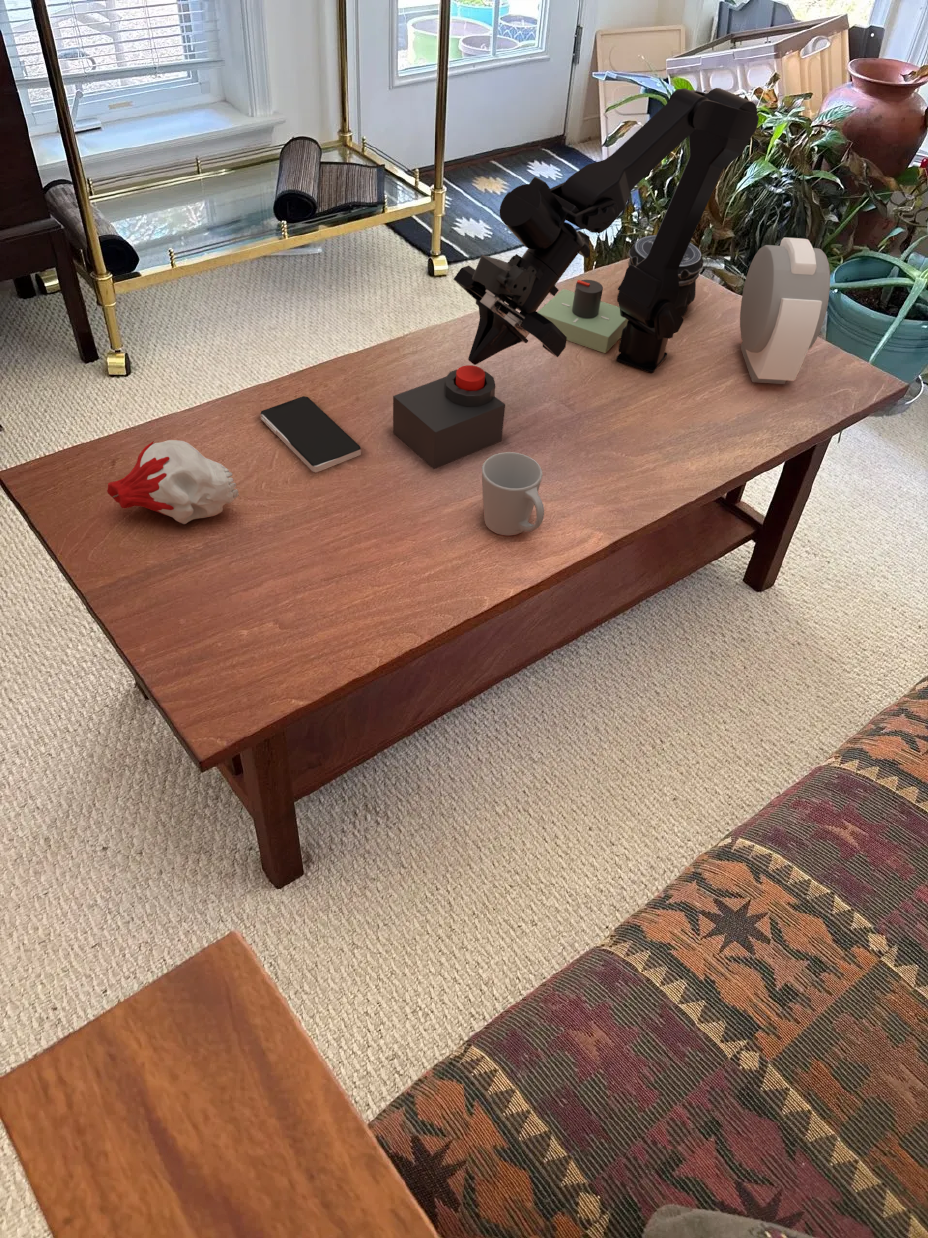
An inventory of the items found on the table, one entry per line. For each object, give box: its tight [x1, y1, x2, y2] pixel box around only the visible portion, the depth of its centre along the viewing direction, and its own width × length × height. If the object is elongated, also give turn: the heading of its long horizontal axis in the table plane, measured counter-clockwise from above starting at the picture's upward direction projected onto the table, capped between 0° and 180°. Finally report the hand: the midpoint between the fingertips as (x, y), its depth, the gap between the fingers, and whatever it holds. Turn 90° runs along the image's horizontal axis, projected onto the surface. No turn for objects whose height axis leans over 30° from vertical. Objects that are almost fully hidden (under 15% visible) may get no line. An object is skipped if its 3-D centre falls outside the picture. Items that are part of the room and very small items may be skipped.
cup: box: [481, 451, 545, 537], centre depth 120 cm, size 8×10×8 cm
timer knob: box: [572, 279, 604, 318], centre depth 155 cm, size 4×4×5 cm
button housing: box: [392, 369, 506, 470], centre depth 133 cm, size 13×10×8 cm
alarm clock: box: [739, 237, 831, 385], centre depth 147 cm, size 18×8×20 cm, turn 179°
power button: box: [456, 364, 485, 391], centre depth 131 cm, size 4×4×2 cm
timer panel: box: [537, 288, 629, 354], centre depth 157 cm, size 13×10×3 cm
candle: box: [106, 439, 240, 525], centre depth 119 cm, size 9×11×15 cm
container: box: [627, 234, 704, 317], centre depth 162 cm, size 13×13×10 cm
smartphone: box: [259, 395, 362, 473], centre depth 133 cm, size 8×1×15 cm
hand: (471, 362), depth 129 cm, fingers closed
